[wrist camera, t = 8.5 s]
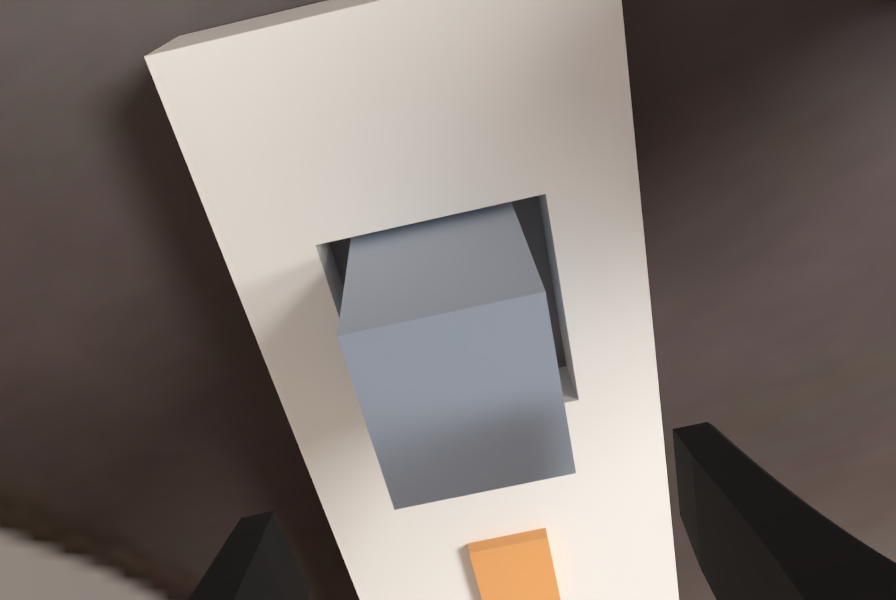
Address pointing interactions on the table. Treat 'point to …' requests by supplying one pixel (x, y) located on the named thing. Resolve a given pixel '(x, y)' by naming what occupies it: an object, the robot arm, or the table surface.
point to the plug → (454, 357)
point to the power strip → (424, 198)
